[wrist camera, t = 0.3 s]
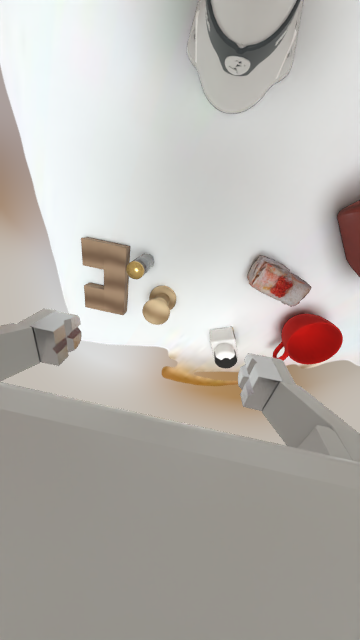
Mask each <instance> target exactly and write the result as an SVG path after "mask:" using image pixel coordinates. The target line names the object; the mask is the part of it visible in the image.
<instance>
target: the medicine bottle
mask: <svg viewBox="0 0 360 640" xmlns="http://www.w3.org/2000/svg"><path fill="white" fill-rule="evenodd" d="M210 343H211V348H212V353H213V358H214V361H215V363H216V364H217V365H218V366H219V367H221V368H230V367H232V366H234V365H235V364H236V362H237V358H238V354H237V346H236V339H235V335H234V331H233V327H227V328H220V329H213V330H210Z"/></svg>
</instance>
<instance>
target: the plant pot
mask: <svg viewBox="0 0 360 640" xmlns="http://www.w3.org/2000/svg"><path fill="white" fill-rule="evenodd" d="M337 218H338V223H339V227H340V232H341V237H342V241H343V246H344V250H345V255H346V259H347V261H348V263H349V264H350V266H351V267H352V268H353V270H354V271H355V272H356V273H357V275H358V276H359V277H360V200H359V201H357V202H355V203H353V204H351V205H349V206H347V207H345V208H344V209H342V210H341V211H339V213H338V215H337Z"/></svg>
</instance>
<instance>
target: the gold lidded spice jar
mask: <svg viewBox="0 0 360 640" xmlns="http://www.w3.org/2000/svg"><path fill="white" fill-rule="evenodd" d="M153 265H154V259H153V257H152V256H151V255H150V254H143V255H142V256H140V257H138V258H137V259H135V260H134V261H132V262H130V263H129V264H128V265H127V268H126V271H127V274H128V275H129V276H130V277H131V278H133V279H139V278H141V277H142V276H143V275H144V274H145V273H146V272H147V271H148V270H149V269H150V268H151V267H152V266H153Z"/></svg>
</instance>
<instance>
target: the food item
mask: <svg viewBox="0 0 360 640" xmlns="http://www.w3.org/2000/svg"><path fill="white" fill-rule="evenodd" d="M247 278H248V280H249V284H250V285H251V286H252V287H253V288H255V289H257V290H259V291H260V292H262V293H264V294H266V295H268V296H270V297H272V298H274V299H276V300H279V301H281V302H282V303H283V304H287V305H289V306H291V307H292V306H295V305H297V304H299V302H300V301H301V300H302V299H303V298H304V297H305V296H306V295H307V294H308V293H309V291H310V289H311V286H310V285H309V284H308V283H307V282H305V281H304V280H302V279H301V278H299V277H298V276H296V275H294V274H292V273H290V270H289V269H288V268H286V266H284V265H283V264H281V263H279V262H277V261H275V260H273V259H269V258H267V257H265V256H261V255H260V256H259V258H258V259H257V260H256V261H255V263H254V264H253V265H252V267H251V269H250V271H249V273H248V276H247Z"/></svg>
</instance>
